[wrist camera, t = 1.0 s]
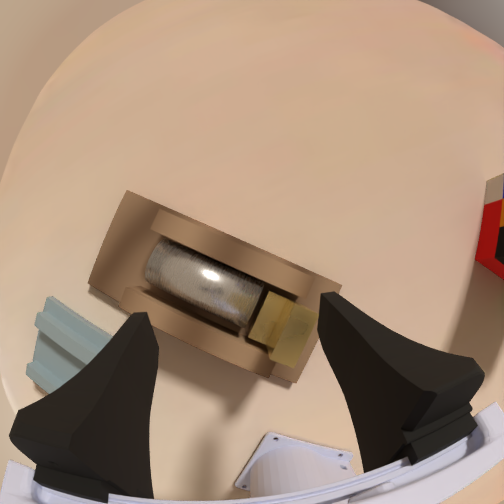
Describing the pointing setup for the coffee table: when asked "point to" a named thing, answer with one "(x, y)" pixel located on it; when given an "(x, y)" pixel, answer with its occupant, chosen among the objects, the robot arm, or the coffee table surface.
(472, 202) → the coffee table surface
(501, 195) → the puzzle toy
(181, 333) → the socket block
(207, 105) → the coffee table surface
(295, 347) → the tan blocky piece
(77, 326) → the rack
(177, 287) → the shiny metal cylinder
